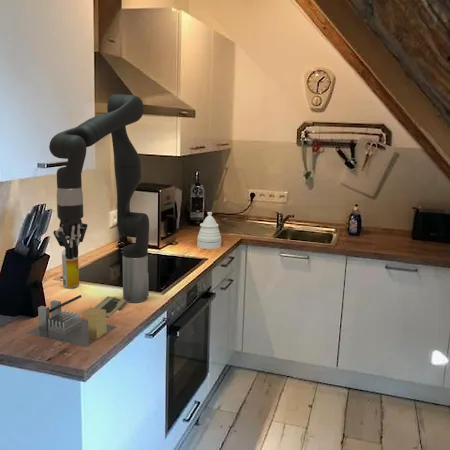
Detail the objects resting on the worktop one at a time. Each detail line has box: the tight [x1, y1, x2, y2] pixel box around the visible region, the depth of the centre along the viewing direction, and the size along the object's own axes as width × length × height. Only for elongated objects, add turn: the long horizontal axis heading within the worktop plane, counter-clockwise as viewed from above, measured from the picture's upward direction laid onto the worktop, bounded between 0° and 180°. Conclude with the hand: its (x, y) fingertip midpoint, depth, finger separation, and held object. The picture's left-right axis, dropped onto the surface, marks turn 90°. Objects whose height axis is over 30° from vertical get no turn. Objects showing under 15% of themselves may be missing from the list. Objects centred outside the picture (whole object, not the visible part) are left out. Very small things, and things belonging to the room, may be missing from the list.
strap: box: [49, 294, 82, 314], centre depth 159 cm, size 3×14×1 cm, turn 68°
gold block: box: [81, 306, 108, 340], centre depth 156 cm, size 5×6×8 cm
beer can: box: [61, 249, 80, 290], centre depth 200 cm, size 6×6×15 cm
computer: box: [93, 295, 128, 319], centre depth 178 cm, size 16×8×3 cm, turn 169°
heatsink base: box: [26, 299, 117, 348], centre depth 159 cm, size 16×22×8 cm
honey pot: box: [196, 211, 222, 250], centre depth 269 cm, size 13×13×18 cm
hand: (72, 257), depth 154 cm, fingers closed
